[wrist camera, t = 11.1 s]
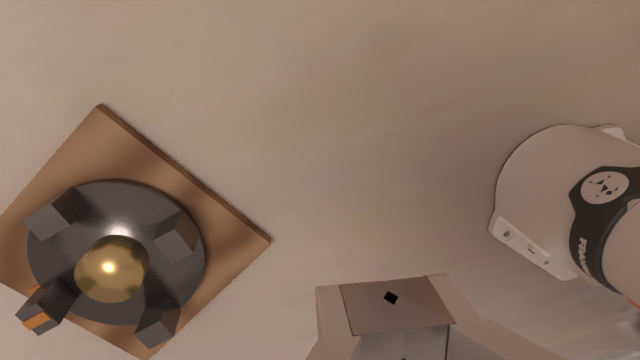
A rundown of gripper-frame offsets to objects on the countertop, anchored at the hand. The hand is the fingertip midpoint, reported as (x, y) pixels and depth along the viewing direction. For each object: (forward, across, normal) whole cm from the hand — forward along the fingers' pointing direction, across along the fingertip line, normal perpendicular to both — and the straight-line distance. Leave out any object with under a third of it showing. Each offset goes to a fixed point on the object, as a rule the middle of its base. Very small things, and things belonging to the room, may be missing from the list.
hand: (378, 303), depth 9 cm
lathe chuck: (+31, +20, +16) cm, 40 cm away
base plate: (+32, +20, +15) cm, 41 cm away
